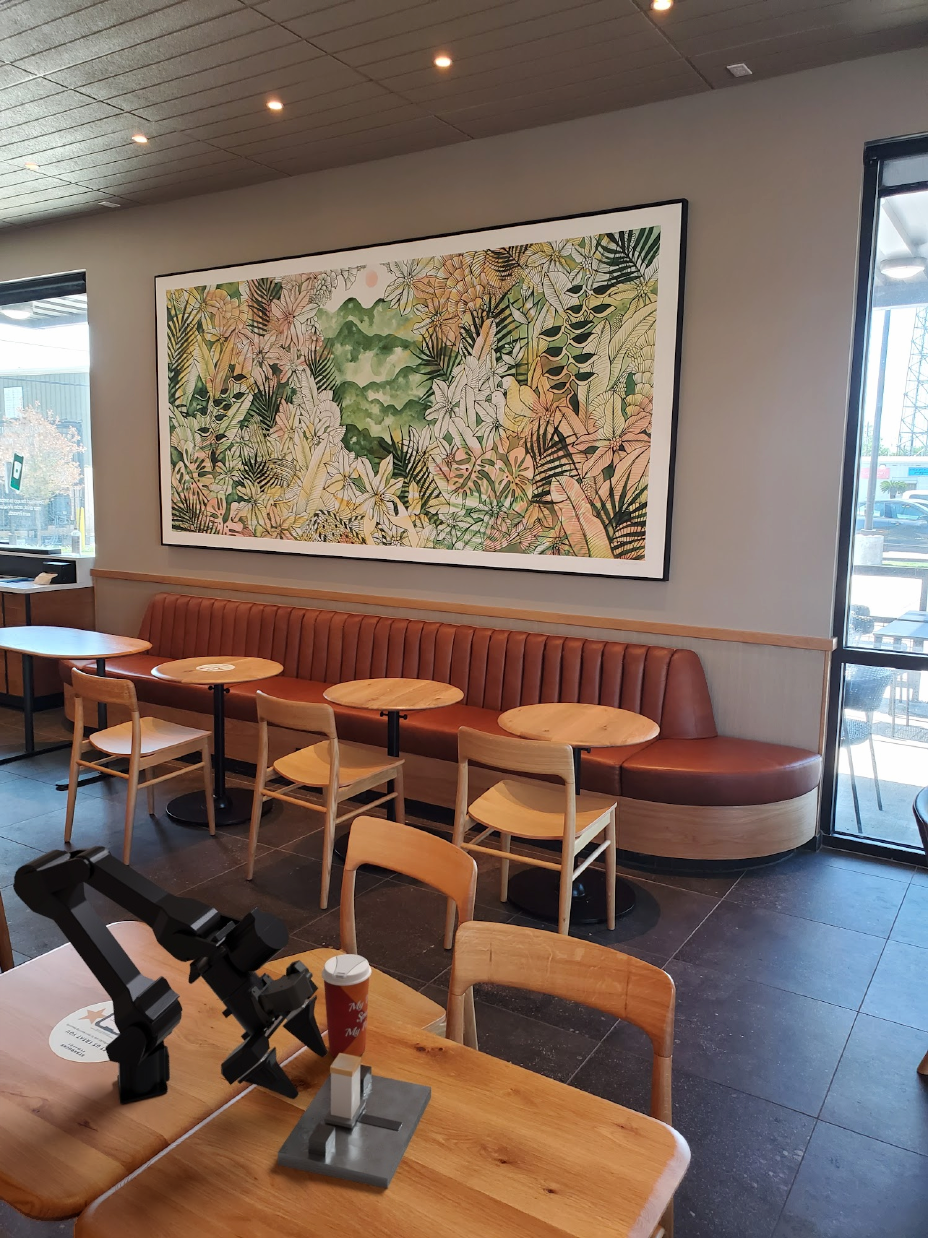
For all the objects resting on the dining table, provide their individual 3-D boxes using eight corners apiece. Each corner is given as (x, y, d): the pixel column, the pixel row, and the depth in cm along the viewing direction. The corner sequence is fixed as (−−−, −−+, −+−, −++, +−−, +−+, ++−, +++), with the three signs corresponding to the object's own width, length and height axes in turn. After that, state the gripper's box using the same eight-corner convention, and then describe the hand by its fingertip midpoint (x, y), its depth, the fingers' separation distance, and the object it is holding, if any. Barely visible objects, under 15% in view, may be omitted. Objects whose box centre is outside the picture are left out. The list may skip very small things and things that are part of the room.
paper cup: (363, 1067, 133) (362, 979, 131) (315, 1061, 134) (313, 974, 133) (378, 1037, 141) (377, 954, 139) (332, 1032, 142) (331, 949, 141)
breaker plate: (277, 1166, 113) (277, 1138, 113) (334, 1079, 130) (334, 1054, 130) (387, 1193, 109) (387, 1164, 109) (430, 1100, 126) (431, 1074, 126)
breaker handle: (324, 1122, 118) (324, 1070, 117) (339, 1098, 123) (339, 1048, 122) (351, 1128, 117) (352, 1076, 116) (365, 1104, 122) (366, 1054, 121)
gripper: (241, 991, 111) (321, 1089, 110) (306, 924, 129) (375, 1007, 127) (187, 1037, 114) (264, 1133, 113) (257, 965, 132) (324, 1047, 131)
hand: (311, 1075), depth 121 cm, fingers open, 9 cm apart
